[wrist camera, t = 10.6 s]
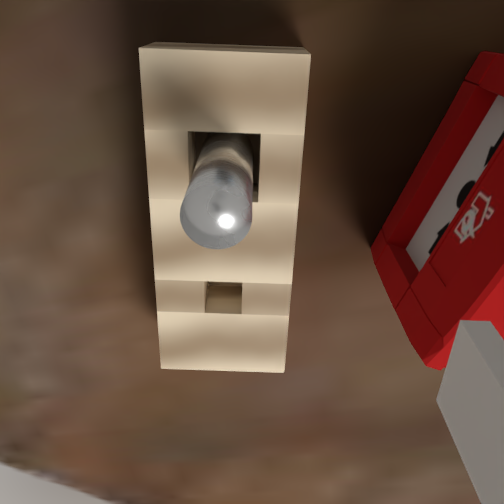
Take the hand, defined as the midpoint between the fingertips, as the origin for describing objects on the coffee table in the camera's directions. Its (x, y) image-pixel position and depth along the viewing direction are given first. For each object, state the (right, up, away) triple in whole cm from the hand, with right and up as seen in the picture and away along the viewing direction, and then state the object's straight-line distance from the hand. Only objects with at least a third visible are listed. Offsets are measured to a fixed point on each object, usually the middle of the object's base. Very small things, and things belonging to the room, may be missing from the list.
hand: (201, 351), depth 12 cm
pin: (0, +10, +22) cm, 24 cm away
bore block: (-1, +6, +25) cm, 26 cm away
